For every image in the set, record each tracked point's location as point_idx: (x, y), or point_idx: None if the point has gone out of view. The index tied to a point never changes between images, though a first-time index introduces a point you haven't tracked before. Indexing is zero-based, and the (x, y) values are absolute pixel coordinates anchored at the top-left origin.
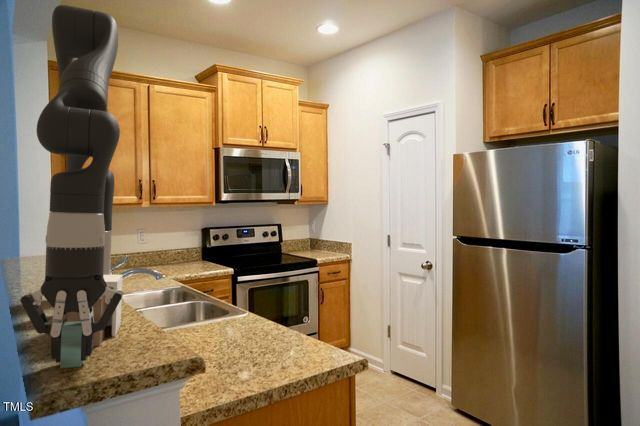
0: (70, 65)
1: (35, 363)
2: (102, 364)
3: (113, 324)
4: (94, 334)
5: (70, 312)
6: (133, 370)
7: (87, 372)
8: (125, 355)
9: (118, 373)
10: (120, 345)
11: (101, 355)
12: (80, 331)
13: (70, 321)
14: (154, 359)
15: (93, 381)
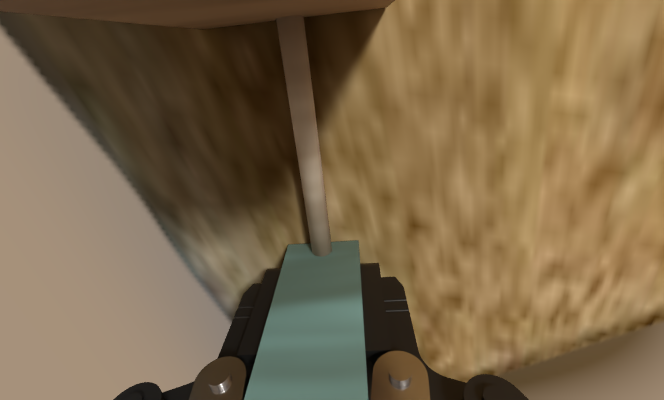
0: None
1: (186, 240)
2: (435, 282)
3: None
4: (355, 2)
5: (23, 4)
6: (540, 342)
7: None
8: (527, 194)
9: (492, 356)
10: (511, 2)
11: (418, 180)
12: None
13: (117, 16)
14: (640, 259)
15: None
